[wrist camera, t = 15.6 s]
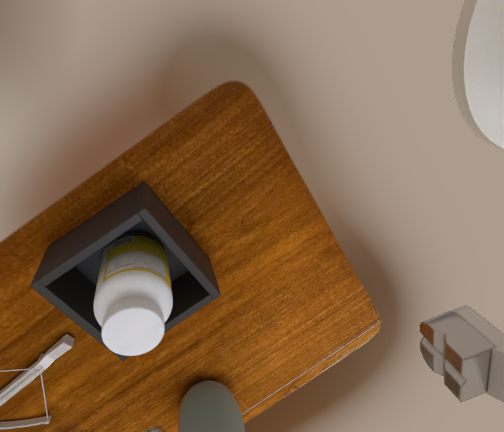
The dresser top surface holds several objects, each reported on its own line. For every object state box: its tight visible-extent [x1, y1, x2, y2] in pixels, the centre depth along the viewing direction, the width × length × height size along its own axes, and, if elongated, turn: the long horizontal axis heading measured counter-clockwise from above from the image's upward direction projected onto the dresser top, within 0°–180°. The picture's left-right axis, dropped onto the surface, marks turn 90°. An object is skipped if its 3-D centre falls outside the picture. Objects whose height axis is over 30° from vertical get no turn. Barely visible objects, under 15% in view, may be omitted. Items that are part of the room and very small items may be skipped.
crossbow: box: [0, 334, 74, 430], centre depth 42 cm, size 16×13×2 cm
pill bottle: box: [93, 232, 173, 356], centre depth 34 cm, size 6×6×12 cm
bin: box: [30, 181, 221, 361], centre depth 37 cm, size 12×12×7 cm
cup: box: [178, 380, 246, 432], centre depth 47 cm, size 8×8×10 cm
